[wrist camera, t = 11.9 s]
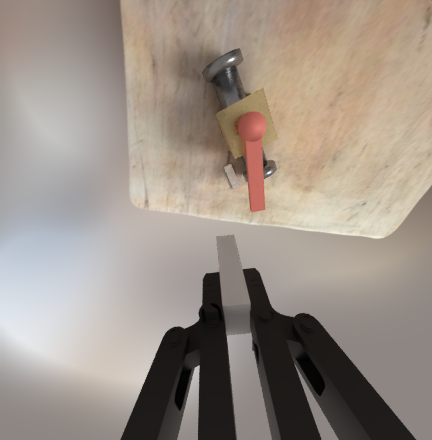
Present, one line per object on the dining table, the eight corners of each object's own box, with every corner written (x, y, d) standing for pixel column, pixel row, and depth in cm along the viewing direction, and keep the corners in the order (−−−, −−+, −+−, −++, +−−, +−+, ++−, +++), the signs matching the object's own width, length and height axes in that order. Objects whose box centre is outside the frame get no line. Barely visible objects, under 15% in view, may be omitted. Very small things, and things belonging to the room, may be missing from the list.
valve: (187, 85, 30) (180, 75, 23) (239, 54, 29) (252, 31, 21) (233, 188, 39) (239, 205, 31) (275, 169, 37) (292, 182, 30)
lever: (236, 114, 25) (237, 114, 24) (263, 109, 24) (265, 108, 23) (246, 209, 31) (247, 212, 30) (267, 206, 31) (269, 209, 30)
